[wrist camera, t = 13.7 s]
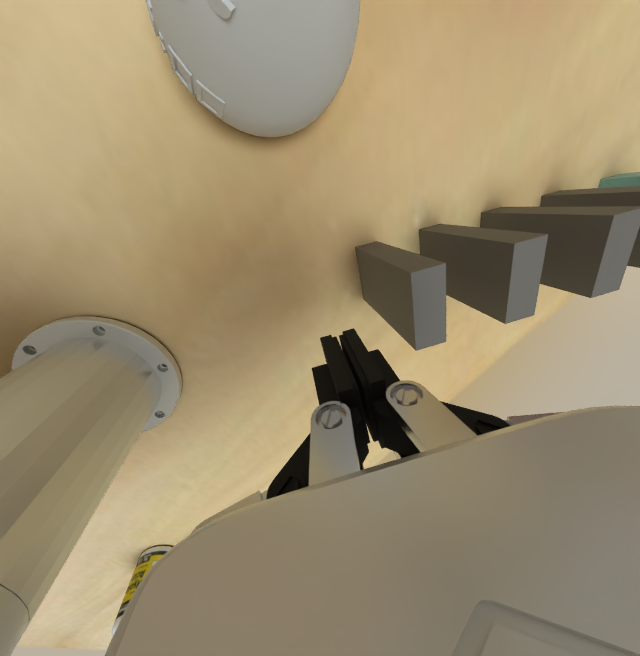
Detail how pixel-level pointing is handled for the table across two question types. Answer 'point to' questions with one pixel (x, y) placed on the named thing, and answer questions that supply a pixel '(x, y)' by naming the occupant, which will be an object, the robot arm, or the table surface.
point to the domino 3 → (576, 243)
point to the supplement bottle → (140, 576)
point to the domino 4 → (599, 205)
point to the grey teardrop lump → (259, 57)
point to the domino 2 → (489, 267)
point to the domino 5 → (621, 180)
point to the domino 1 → (405, 292)
